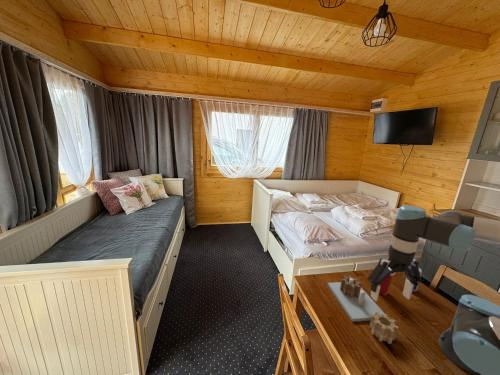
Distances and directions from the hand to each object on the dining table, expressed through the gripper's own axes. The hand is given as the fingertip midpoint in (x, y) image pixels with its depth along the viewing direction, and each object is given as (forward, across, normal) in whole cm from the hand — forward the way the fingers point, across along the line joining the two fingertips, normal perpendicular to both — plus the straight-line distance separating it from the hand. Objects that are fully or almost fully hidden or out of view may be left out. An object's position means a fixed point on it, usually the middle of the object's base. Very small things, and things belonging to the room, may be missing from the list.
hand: (390, 297), depth 80 cm
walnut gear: (+15, +1, -21) cm, 26 cm away
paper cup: (+17, -16, -22) cm, 32 cm away
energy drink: (+17, -34, -23) cm, 45 cm away
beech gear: (+17, 0, 0) cm, 17 cm away
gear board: (+17, +1, -17) cm, 24 cm away
